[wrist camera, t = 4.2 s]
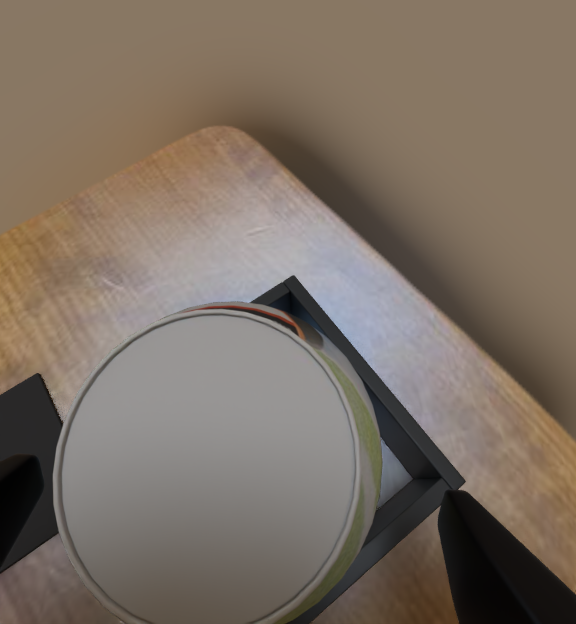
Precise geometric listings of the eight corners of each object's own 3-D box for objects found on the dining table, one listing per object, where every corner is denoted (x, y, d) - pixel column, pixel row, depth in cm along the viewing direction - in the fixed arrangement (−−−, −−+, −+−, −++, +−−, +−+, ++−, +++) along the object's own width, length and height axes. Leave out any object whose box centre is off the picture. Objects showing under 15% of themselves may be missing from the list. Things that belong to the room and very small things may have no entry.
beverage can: (341, 377, 18) (409, 217, 7) (336, 557, 15) (442, 738, 4) (211, 367, 19) (93, 200, 8) (182, 542, 16) (-82, 676, 5)
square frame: (433, 482, 16) (467, 481, 13) (231, 659, 14) (212, 711, 11) (293, 307, 20) (293, 274, 17) (113, 426, 18) (73, 412, 14)
